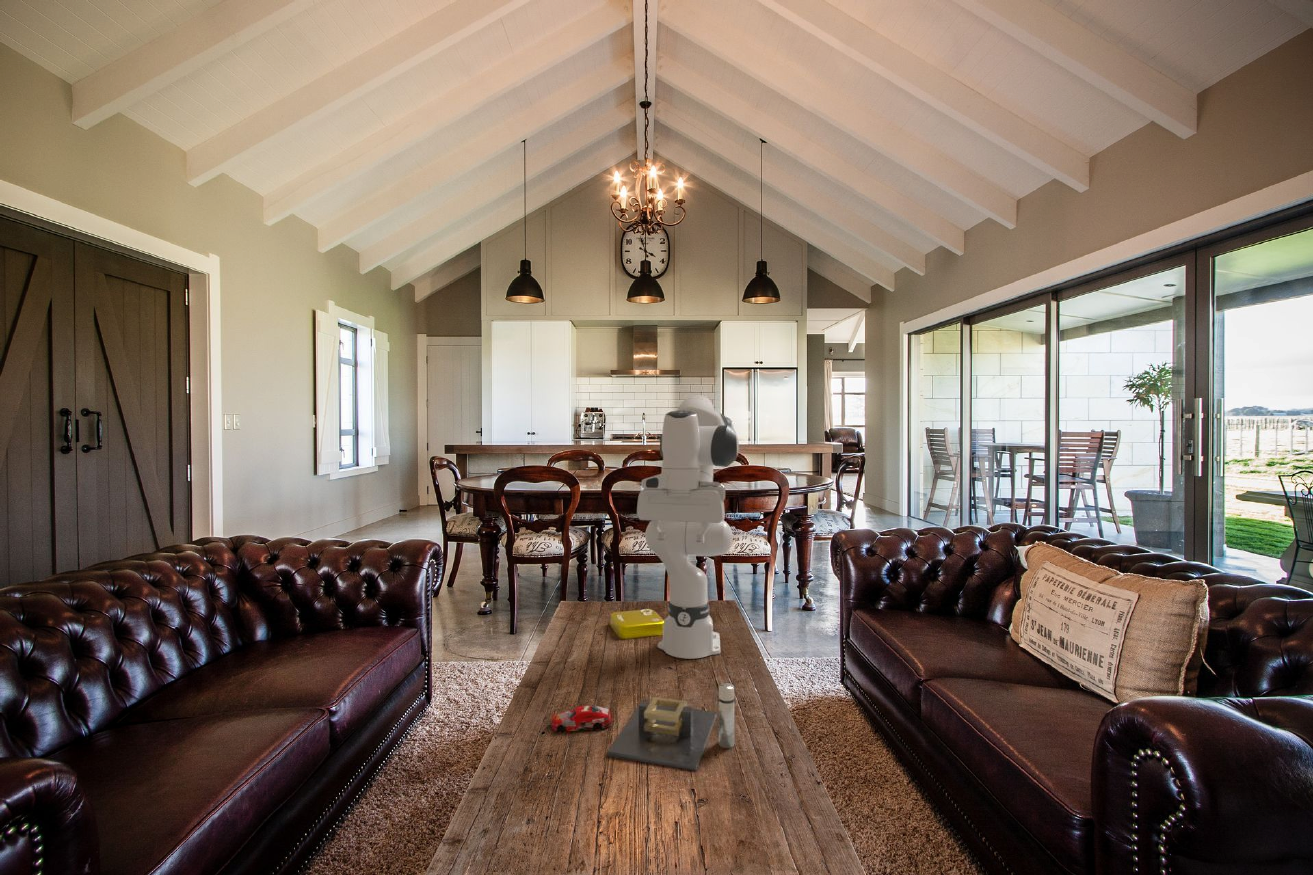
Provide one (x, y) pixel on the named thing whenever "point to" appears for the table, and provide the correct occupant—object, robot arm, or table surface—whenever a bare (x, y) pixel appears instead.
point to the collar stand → (665, 734)
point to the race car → (582, 719)
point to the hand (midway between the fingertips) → (680, 541)
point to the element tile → (637, 623)
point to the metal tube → (726, 715)
